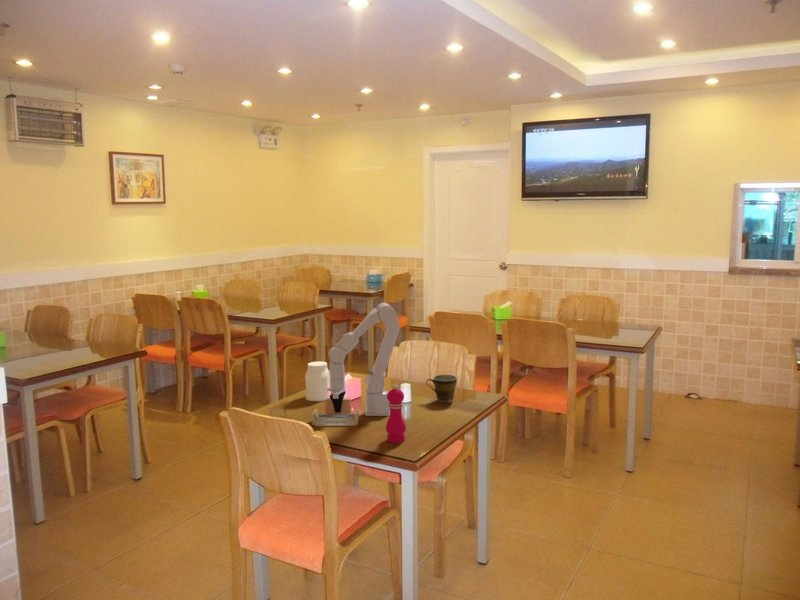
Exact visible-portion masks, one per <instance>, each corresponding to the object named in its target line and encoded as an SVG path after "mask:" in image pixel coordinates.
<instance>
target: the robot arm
mask: <svg viewBox="0 0 800 600" xmlns="http://www.w3.org/2000/svg"><path fill="white" fill-rule="evenodd" d="M381 321H382V322H383V325H384V326H385V328H386V330H385V333H384V336H383V338H382V340H381V345H380V347H379V349H378V353H377V357H376V359H375V362H374V364H373V366H372V368H371V369H370V372H369V373H368V374H367V375H366V377H365V383H366V385H367V388H366V390H365V400H366V401H365V403H366V406H365V407H366V408H365V412H364V416H365V417H375V416H376V417H384V416H385V417H386V416H390V408H389V407H388V406H389V404H388V403H389V401H388V400H387V393H388V392H389V391H390V390H388V391H387V390H385V380H386V370H387V367H388V365H389V361H390V359H391V356H392V352H393V350H394V347H395V344H396V341H397V339H398V335H399V333H400V329H401V326H400V323H399V319H398V313H397V312H396V310H395V309H394V308H393V306H391V304H389V303H387V302H384V301H383V302H380V303H378V304H377V305H376V307H374V308H372V309H371V310H370V311H369V313H368V314H367V315H366V316H365V318H364V319H363V320H362V321H361V322H360V323H359V324H358V325H357V326H356V327H355V329H353V331H350V332H347V333H344V334H343V335H342V338H341V339H340V340H339V341H338V342H336V343H334V346H333V347H331V348H330V349H329V350H328V354H327V356H328V358H329V359H330V361H329V371H330V388H328V389H327V391H330V392H331V395H330V396H329V398H330V399H331V400H332V403H333V406H334V410H335V413H340V412H341V406H342V401H343V398H345V395H346V383H345V382H346V381H345V379H346V378H345V377H346V376H345V365H344V362H345V359H346V355H348V354H349V353H351V351H352V350H353V349H354V348H355V347H356V345H358V344H359V338H361V336H362V335H364V334H365V332H366V331H367V330H368V329H370V328H371V327H372V325H374V324H380V323H381Z"/></svg>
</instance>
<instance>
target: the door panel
mask: <svg viewBox="0 0 800 600" xmlns="http://www.w3.org/2000/svg"><path fill="white" fill-rule="evenodd" d="M324 414H352V398H351V397H344V398H343V401H342V406H341V412H340V413H335V410H334V406H333V403H332V400H331V399H330V397H329V398H325V401H324Z"/></svg>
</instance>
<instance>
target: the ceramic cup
mask: <svg viewBox="0 0 800 600" xmlns="http://www.w3.org/2000/svg"><path fill="white" fill-rule="evenodd" d="M429 381H431V382H432V383H433V385H434V388H433V386H431V385H430V384H429V383H428V382H429ZM425 382H426V385H427V386H428V387H429V388H430V389H432V390H433V391H434V393H435V394H436V400H437V402H438V403H441V404H449V403H453V402H454V397H455V390H456V387H457V382H458V377H457V376H456V375H453V374H452V375H451V374H437V375H434V376H433V378H428V379H426V381H425Z"/></svg>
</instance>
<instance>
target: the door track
mask: <svg viewBox="0 0 800 600" xmlns="http://www.w3.org/2000/svg"><path fill="white" fill-rule="evenodd" d="M359 409H360V408H359V407H358V408H357V407H356V408H355V412H354V413H351V414H325V413H318V408H314V409H313V411H312V413H311V417H312V418H311V422H312V423H311V425H315V426H314V427H355V426H358V425H359V420H360V410H359Z"/></svg>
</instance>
